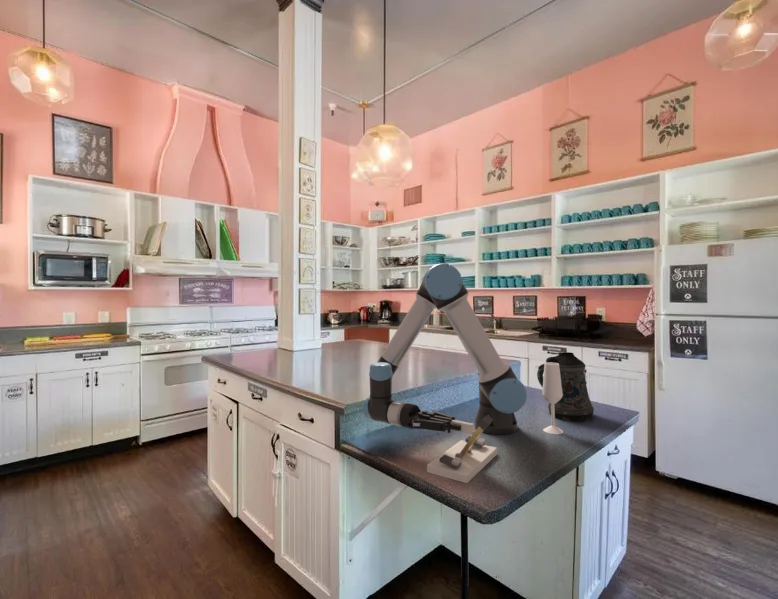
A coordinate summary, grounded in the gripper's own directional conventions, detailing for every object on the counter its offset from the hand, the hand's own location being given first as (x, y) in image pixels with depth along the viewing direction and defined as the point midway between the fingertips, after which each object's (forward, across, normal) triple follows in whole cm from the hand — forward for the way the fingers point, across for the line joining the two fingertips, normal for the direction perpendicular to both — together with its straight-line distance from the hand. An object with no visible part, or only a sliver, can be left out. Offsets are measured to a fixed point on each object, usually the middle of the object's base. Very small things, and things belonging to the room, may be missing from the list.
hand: (472, 429), depth 111 cm
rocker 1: (-3, +8, -8) cm, 11 cm away
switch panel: (-3, 0, -11) cm, 11 cm away
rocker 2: (-3, -9, -7) cm, 12 cm away
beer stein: (+13, -62, -10) cm, 64 cm away
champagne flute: (+12, -42, -10) cm, 45 cm away
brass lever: (-3, 0, -8) cm, 9 cm away
